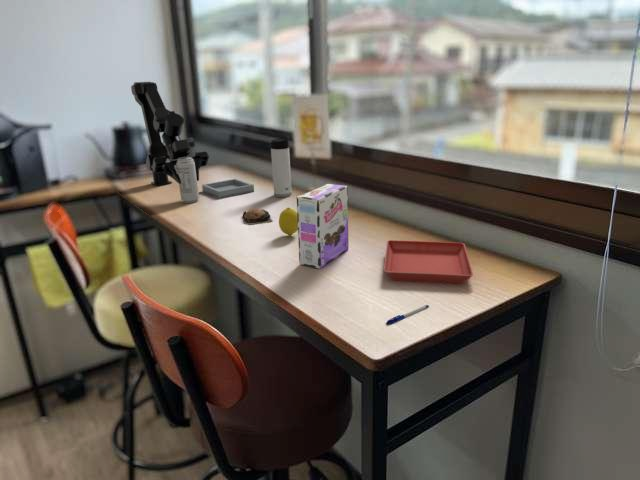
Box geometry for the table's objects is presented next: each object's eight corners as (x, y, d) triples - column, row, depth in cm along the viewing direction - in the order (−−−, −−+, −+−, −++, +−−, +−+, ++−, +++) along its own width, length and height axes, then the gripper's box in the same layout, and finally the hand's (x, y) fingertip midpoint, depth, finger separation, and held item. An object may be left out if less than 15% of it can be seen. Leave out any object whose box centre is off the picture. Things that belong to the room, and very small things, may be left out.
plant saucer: (472, 289, 97) (474, 274, 96) (383, 285, 100) (383, 270, 99) (463, 255, 113) (464, 242, 112) (386, 252, 116) (387, 240, 115)
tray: (202, 191, 178) (201, 184, 177) (236, 184, 186) (235, 178, 185) (219, 198, 167) (218, 191, 167) (254, 191, 175) (253, 184, 174)
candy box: (320, 269, 107) (317, 199, 102) (298, 264, 110) (294, 196, 105) (349, 249, 118) (348, 184, 112) (329, 245, 121) (327, 182, 115)
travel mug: (292, 197, 166) (288, 139, 159) (273, 197, 166) (269, 139, 159) (293, 192, 172) (290, 136, 165) (275, 193, 172) (271, 137, 165)
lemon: (303, 233, 130) (301, 205, 128) (295, 240, 126) (294, 211, 123) (284, 231, 132) (282, 204, 129) (276, 238, 127) (274, 209, 125)
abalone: (274, 223, 141) (274, 211, 140) (246, 227, 139) (245, 215, 137) (266, 213, 151) (265, 202, 149) (239, 217, 148) (238, 205, 147)
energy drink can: (203, 200, 166) (197, 157, 161) (190, 204, 162) (184, 160, 156) (190, 198, 169) (185, 155, 164) (177, 202, 165) (171, 159, 159)
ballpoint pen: (388, 327, 84) (388, 321, 84) (385, 325, 85) (385, 320, 84) (429, 308, 90) (429, 303, 89) (425, 306, 90) (425, 301, 90)
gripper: (149, 133, 155) (164, 172, 151) (203, 127, 165) (219, 163, 160) (146, 154, 164) (160, 191, 160) (198, 147, 174) (213, 182, 169)
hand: (189, 181), depth 162 cm, fingers closed on energy drink can, 6 cm apart
